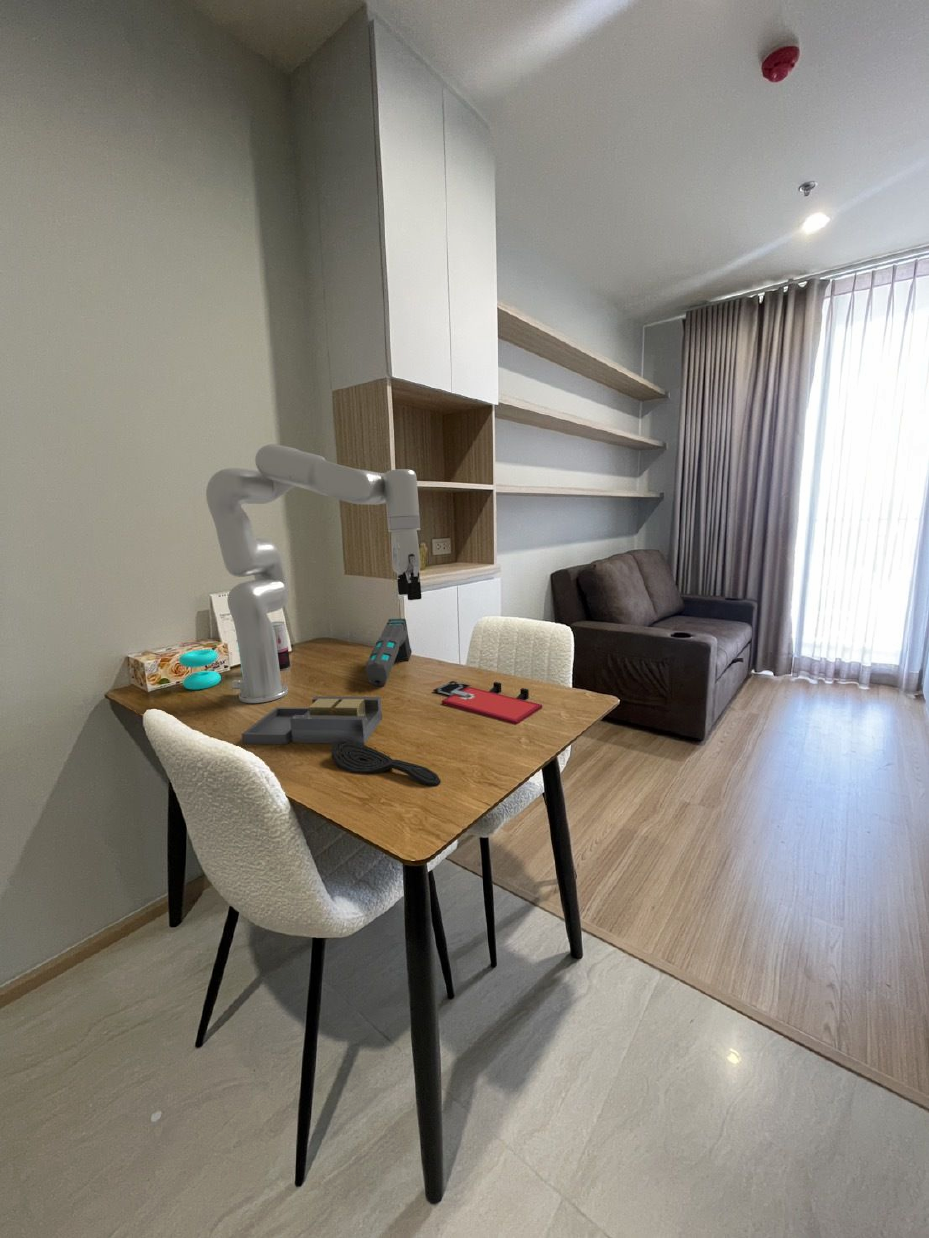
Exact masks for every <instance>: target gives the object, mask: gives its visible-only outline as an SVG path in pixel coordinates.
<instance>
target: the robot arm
mask: <svg viewBox="0 0 929 1238" xmlns="http://www.w3.org/2000/svg"><path fill="white" fill-rule="evenodd" d="M254 461H255V466H256V468H257V470H255V469H249V468H247V469H246V468H240V467H238V468H237V467H228V468H223V469H220V470H219V471H217V472H215V473H214V474H213V475H212V476H211V477H210V478H209V481H208V483H207V485H206V491H205V496H206V503H207V506H208V509H209V513H210V515H211V517H212V520H213V522H214V523H213V524H214V527H215V531H216V534H217V535H216V536H217V540H218V544H219V548H220V552H221V555H222V560H223V564H224V566H225V569H226V570H227V572H228V573H229V574H230V575H231V576H233V577H238V578H241V577H251V576H253V577H254V580H248V581H243V582H240V583H238V584H237V585H235V586H233V587H232V588H231V589H230V591H229V593H228V595H227V599H226V600H227V607H228V609H229V610H228V611H229V612H230V615H231V618H232V621H233V625H234V629H235V635H236V642H237V647H238V653H239V655H238V656H239V661H240V668H241V675H242V680H240V679H234V680H232V683H231V684H232V685H231V689H232V690H240V692H239V695H238V699H239V701H240V702H242V703H245V704H261V703H267V702H271V701H275V700H277V699H280V698H282V697H285V696H286V695H287V694H288V693H289V687H288V686H287V685H286V684H284V683H283V684H282V678H281V677H282V676H281V671H280V669H279V661H278V653H277V645H276V638H275V631H274V627H273V625H272V623H271V622H272V621H271V620H270V618H269V615H268V614H269V613H273V612H275V611H278V610H282V608H284V607H285V606H286V605H287V603H288V601H289V598H290V597H289V596H290V593H289V591H290V590H289V586H288V582H287V577H286V571H285V568H284V563H283V559H282V555H281V552H280V550H279V549H278V548H277V546H276V545H275V544H274V543H273V542H272V541H271V540H269V539H266V538H256V537H255V535H254V531H253V530H254V529H253V526H252V522H251V520H250V517H249V516H248V514H247V512H245V510H244V509H243V507H242V505H243V504H252V505H253V504H256V505H257V504H258V505H259V504H260V505H264V504H265V505H266V504H269V503H271V502H274V501H276V500H277V499H279V498H280V497H281V496H282V497H283V495H284V494H286V493H287V492H289V491H290V490H292V489H293V488H296V487H297V488H301V489H303V490H307V491H312V492H314V493H316V494H319V495H322V496H325V497H328V498H331V499H336V500H339V501H343V502H347V503H350V504H355V505H371V506H373V505H376V506H377V505H383V504H385V507H386V519H387V529H388V532H389V533H390V534H391V535H390V537H391V538H390V540H391V541H390V543H391V546H390V547H391V568H392V571H393V572H394V573H396V576H397V577H396V579H397V582H396V583H397V591H398V592H397V594H398V595H399V596H402V595H407V596H406V597H407V600H408V601H416V600H421V599H422V586H421V577H420V576H421V575H420V571H421V557H420V556H421V555H420V546H419V537H418V532H417V531H421V518H420V506H419V505H420V504H419V492H418V491H419V490H418V478H417V474H416V472H415V471H414V470H412V469H408V468H404V469H403V468H399V469H391V470H387V471H386V472H376V471H371V470H367V469H366V470H365V469H358V468H354V467H350V466H346V465H341V464H338V463H334V462H331V461H328V460H326V459H325V457H324V456H322V455H318V454H314V453H312V452H307V451H303V450H299V449H298V448H295V447H292V446H291V447H290V446H285V445H281V444H266V445H264V446H262V447H260V448H259V450H257V452H256V455H255V457H254Z"/></svg>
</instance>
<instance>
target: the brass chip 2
mask: <svg viewBox="0 0 929 1238" xmlns="http://www.w3.org/2000/svg"><path fill="white" fill-rule="evenodd" d="M335 714H336V716H364V715H365V714H366V713H365V702H364V699H343V700H342V701H341V702H340V703H339V704H338V705H337V706H336V707H335Z"/></svg>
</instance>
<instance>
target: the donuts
mask: <svg viewBox="0 0 929 1238" xmlns="http://www.w3.org/2000/svg"><path fill="white" fill-rule="evenodd" d="M218 656H219V655H218V653H217V651H216V650H214V649H198V650H193V651H189V652H185V653H184V654H182V655H180V657H179V658H178V659H179V663H180V665H182V666H183V667H185V668H202V667H205V666H209V665H211V664H213V663H214V662H216V661H217V659H218ZM221 680H222V677H221V674H220V673H218V672H216V671H214V670H203V671H202V670H201V671H197V672H196V671H195V672H194V673H191V674H189V675H187V676H186V677H185V678H184V680H183V683H182V684H183V687H184V688H185V689H188V690H193V691H194V690H204V689H209V688H212V687H215V686H216V685H218V684H219V683H220V682H221Z"/></svg>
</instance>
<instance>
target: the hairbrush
mask: <svg viewBox="0 0 929 1238" xmlns="http://www.w3.org/2000/svg"><path fill="white" fill-rule="evenodd" d="M344 738H345V737H344ZM347 739H348V738H347ZM351 739H352V738H351ZM355 741H356V740H355ZM355 741H352V740H338V741H337V742H336V743H332V746H331V747H332V748H331V750H330V751H331V758H332V760H333V762H335V764H336V765H337V768H339V769H341V770H343V771H345V772H350V773H353V774H362V775H365V774H366V775H372V774H373V775H374V774H378V773H382V772H384V771H385V772H386V771H388V770H391V769H392V770H393V769H394V770H396V771H398V772H399V771H400V772H402V773H405V775H407V776H409V777H411V778H412V779H413V780H415V781H416V782H418V783H421V784H422V785H425V786H427V787H438V786H439V785H440V784H441V782H442V780H441V778H440V777H439V775H438V774H437V773H435V772H434V771H432V770H431V769H429V768H427V767H425V766H422V765H419V764H415V763H412V762H409V761H405V760H401V759H393V758H391V756H389V755H388V752H387V753H386V751H383V752H381V751H382V749H380V751H379V750H378V749H377V747H374V748H373V747H371V744H368V745H367V744H366V742H365V743H364V744H360V743H358V742H355ZM334 742H335V741H334ZM362 743H363V742H362Z"/></svg>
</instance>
